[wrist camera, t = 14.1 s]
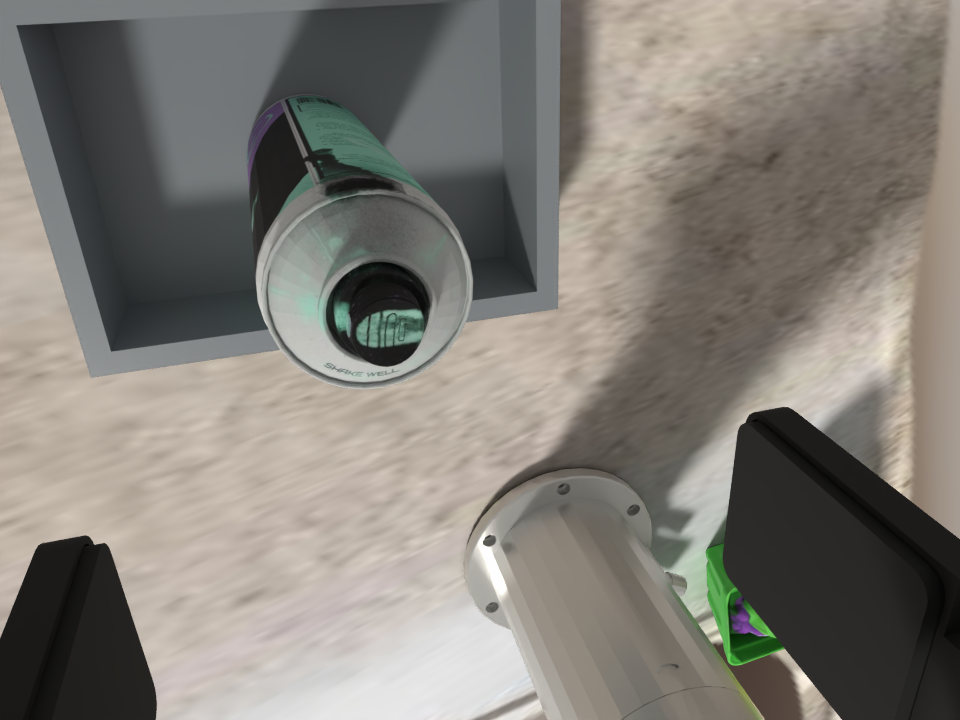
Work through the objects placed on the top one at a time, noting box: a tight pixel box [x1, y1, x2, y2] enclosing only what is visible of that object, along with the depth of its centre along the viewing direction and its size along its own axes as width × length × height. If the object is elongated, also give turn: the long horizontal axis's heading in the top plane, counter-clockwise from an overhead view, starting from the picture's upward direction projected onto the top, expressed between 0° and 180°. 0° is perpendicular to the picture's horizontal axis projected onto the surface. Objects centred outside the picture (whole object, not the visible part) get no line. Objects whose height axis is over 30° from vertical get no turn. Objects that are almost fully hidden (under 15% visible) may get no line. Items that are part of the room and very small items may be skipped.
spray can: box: [246, 94, 473, 389], centre depth 26 cm, size 6×6×20 cm
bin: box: [0, 0, 561, 378], centre depth 32 cm, size 20×14×6 cm
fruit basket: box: [706, 543, 785, 665], centre depth 51 cm, size 11×9×11 cm
